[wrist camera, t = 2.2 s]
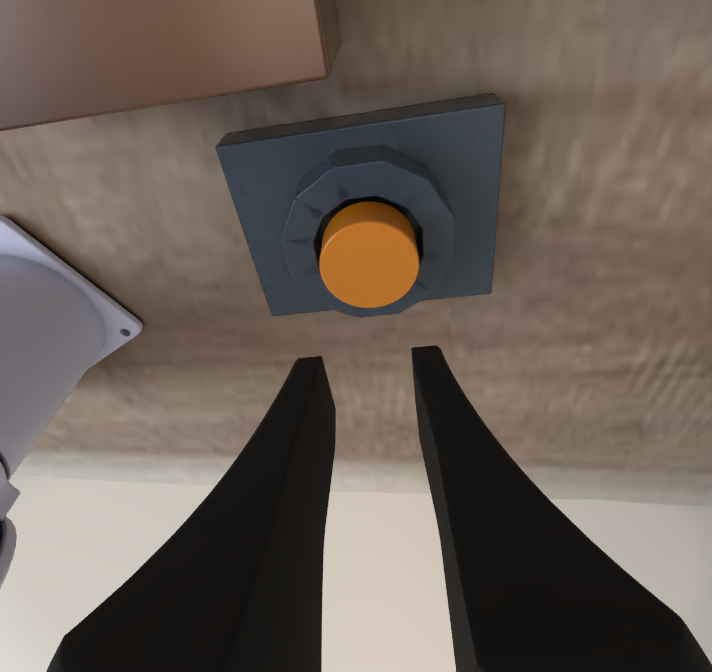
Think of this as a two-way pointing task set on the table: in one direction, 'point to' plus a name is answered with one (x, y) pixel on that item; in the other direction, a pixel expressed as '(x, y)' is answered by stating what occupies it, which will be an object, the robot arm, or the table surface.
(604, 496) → the table surface
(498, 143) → the block
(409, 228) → the button
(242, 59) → the lid
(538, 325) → the table surface
